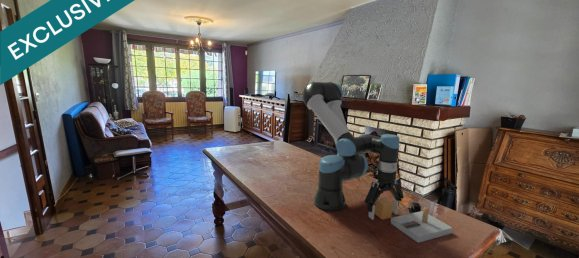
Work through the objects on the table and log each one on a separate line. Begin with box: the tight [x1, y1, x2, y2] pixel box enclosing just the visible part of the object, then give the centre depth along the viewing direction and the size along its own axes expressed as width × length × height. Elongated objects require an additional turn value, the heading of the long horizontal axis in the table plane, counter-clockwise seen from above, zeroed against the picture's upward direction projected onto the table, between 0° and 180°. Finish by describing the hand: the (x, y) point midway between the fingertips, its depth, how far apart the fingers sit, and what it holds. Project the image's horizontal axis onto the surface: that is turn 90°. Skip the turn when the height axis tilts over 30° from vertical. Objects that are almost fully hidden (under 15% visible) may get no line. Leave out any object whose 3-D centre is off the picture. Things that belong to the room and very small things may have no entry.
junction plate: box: [390, 206, 453, 244], centre depth 102 cm, size 18×14×8 cm
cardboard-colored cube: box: [374, 197, 393, 220], centre depth 111 cm, size 5×5×7 cm
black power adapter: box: [407, 201, 422, 214], centre depth 115 cm, size 12×7×5 cm, turn 168°
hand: (382, 215), depth 112 cm, fingers open, 12 cm apart
